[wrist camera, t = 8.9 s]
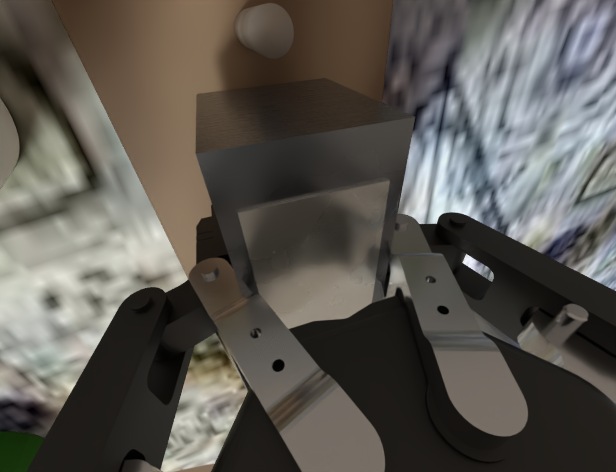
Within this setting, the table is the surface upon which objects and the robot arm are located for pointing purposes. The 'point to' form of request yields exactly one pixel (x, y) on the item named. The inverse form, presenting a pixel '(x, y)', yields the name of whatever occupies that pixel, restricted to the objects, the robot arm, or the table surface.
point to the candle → (18, 450)
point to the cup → (7, 144)
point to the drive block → (304, 191)
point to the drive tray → (211, 75)
